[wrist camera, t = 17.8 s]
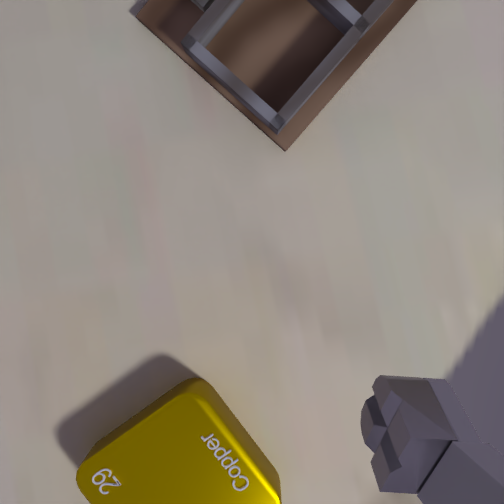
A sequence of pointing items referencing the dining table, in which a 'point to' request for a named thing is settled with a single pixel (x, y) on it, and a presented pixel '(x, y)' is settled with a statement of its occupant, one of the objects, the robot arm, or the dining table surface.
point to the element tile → (180, 456)
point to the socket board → (274, 51)
